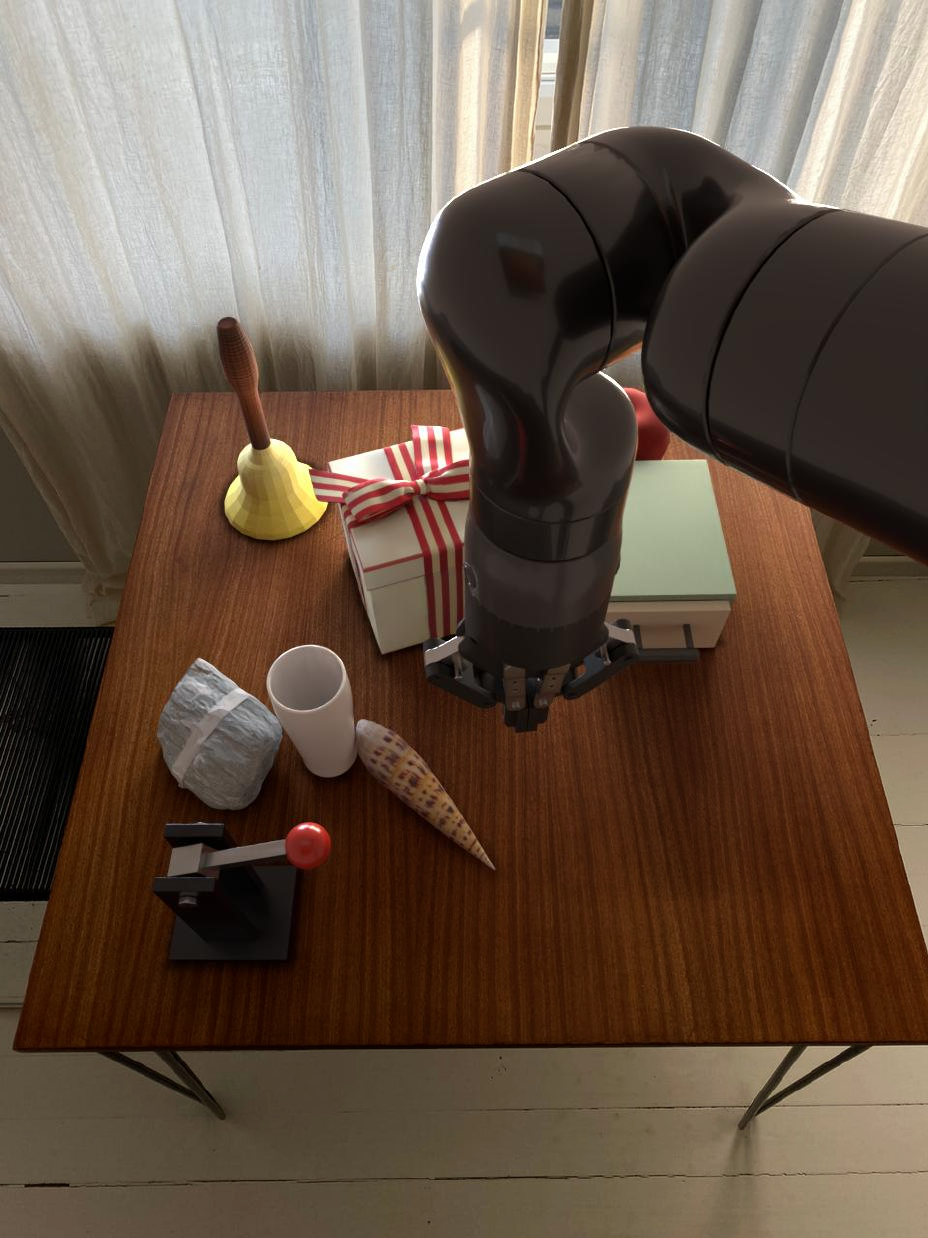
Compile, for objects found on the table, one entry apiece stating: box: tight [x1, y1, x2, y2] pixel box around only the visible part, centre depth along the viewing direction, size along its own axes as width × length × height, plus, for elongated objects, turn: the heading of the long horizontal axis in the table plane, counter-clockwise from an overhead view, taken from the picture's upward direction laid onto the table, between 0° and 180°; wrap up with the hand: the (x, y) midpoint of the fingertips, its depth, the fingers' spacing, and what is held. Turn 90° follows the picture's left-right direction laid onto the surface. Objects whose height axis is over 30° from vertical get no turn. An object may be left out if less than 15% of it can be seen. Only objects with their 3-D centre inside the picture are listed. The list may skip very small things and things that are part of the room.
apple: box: [621, 387, 671, 461], centre depth 100 cm, size 11×11×12 cm
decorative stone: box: [156, 657, 284, 811], centre depth 83 cm, size 13×10×6 cm
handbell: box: [215, 316, 329, 541], centre depth 93 cm, size 12×12×25 cm
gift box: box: [308, 424, 469, 655], centre depth 89 cm, size 17×18×17 cm
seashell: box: [355, 718, 496, 871], centre depth 80 cm, size 4×18×5 cm, turn 43°
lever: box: [166, 821, 332, 880], centre depth 63 cm, size 13×3×3 cm, turn 90°
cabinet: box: [610, 459, 738, 609], centre depth 93 cm, size 18×14×9 cm
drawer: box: [605, 600, 732, 665], centre depth 91 cm, size 21×13×7 cm, turn 1°
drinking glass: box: [266, 644, 358, 778], centre depth 79 cm, size 7×7×15 cm
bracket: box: [151, 822, 300, 964], centre depth 70 cm, size 10×8×16 cm
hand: (522, 719), depth 58 cm, fingers closed
